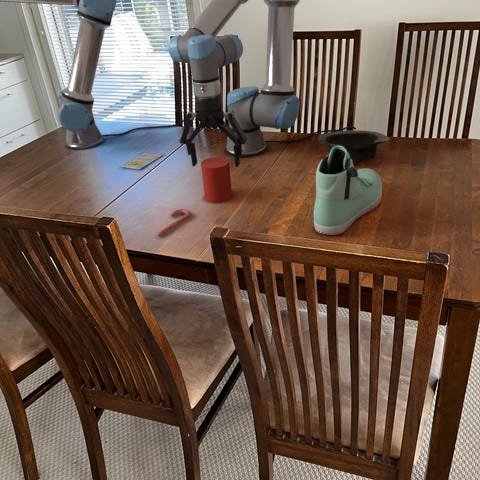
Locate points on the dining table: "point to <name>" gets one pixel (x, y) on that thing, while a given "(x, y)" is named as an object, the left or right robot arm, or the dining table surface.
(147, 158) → the baking ingredient package
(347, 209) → the sneaker
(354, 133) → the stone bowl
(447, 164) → the dining table surface
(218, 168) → the can
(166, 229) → the candy cane
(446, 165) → the dining table surface
